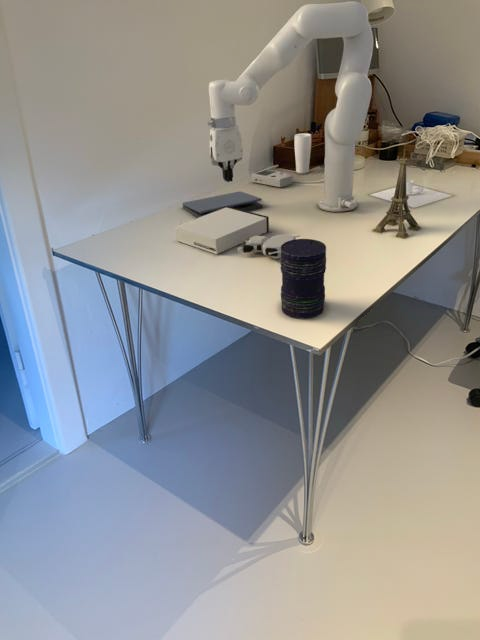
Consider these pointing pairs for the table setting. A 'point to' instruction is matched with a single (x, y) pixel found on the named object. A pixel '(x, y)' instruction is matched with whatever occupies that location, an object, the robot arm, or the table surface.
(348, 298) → the table surface
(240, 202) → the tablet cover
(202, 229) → the disc drive
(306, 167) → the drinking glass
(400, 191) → the eiffel tower
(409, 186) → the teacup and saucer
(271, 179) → the handheld gaming device
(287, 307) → the dark blue cylinder
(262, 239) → the robot toy
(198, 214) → the dark grey flat slab
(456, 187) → the table surface
